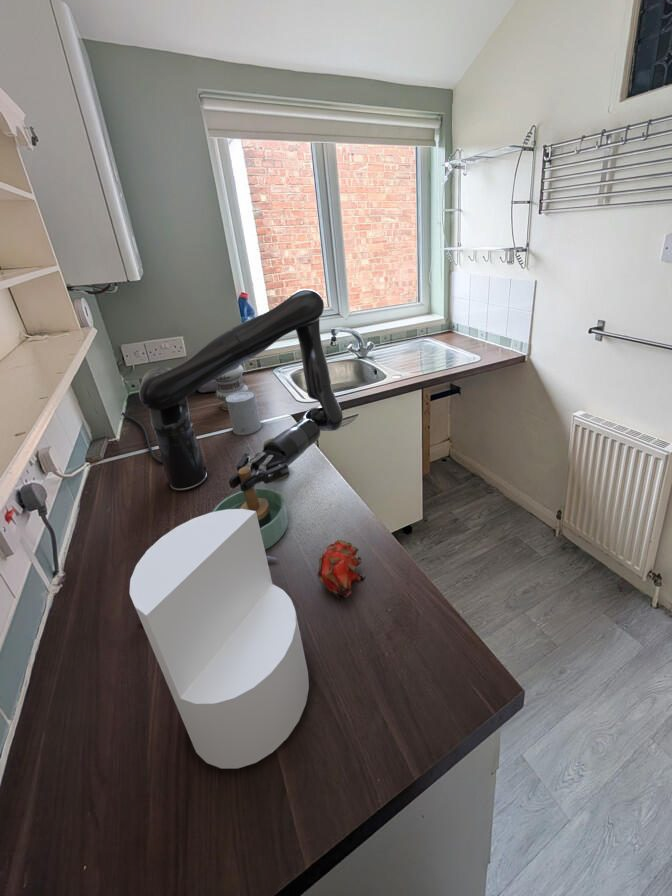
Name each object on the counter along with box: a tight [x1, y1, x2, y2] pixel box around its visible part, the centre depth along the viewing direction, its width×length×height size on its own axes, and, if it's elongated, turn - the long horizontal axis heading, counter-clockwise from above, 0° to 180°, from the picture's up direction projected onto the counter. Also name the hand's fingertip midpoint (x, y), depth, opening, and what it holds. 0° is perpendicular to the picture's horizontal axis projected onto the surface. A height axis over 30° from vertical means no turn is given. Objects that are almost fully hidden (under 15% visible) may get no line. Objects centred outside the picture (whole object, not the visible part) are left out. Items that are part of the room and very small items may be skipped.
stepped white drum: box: [129, 509, 310, 769], centre depth 55 cm, size 17×17×28 cm
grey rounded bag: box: [197, 378, 243, 393], centre depth 176 cm, size 15×8×20 cm
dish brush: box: [237, 467, 272, 528], centre depth 92 cm, size 7×7×15 cm
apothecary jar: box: [215, 365, 249, 411], centre depth 156 cm, size 12×12×18 cm
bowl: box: [211, 487, 289, 551], centre depth 92 cm, size 16×16×6 cm
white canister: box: [226, 390, 262, 436], centre depth 138 cm, size 10×10×12 cm
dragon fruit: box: [317, 539, 367, 598], centre depth 77 cm, size 8×8×12 cm
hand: (236, 486), depth 87 cm, fingers closed on dish brush, 2 cm apart
